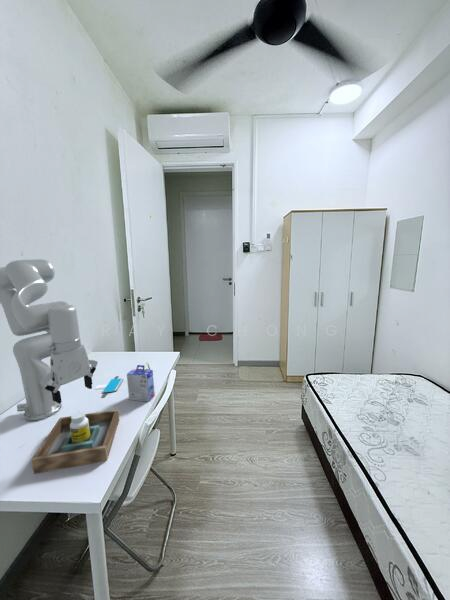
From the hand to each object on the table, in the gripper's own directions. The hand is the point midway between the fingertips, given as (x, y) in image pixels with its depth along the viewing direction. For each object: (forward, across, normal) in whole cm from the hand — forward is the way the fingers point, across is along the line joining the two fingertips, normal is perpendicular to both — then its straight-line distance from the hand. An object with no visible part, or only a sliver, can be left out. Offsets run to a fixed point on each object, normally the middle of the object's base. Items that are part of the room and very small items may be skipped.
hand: (74, 394), depth 84 cm
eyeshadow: (+19, +47, +23) cm, 55 cm away
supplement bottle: (+17, 0, -1) cm, 17 cm away
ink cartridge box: (+18, +29, +4) cm, 34 cm away
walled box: (+18, 0, -1) cm, 18 cm away
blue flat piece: (+19, +27, +26) cm, 42 cm away
